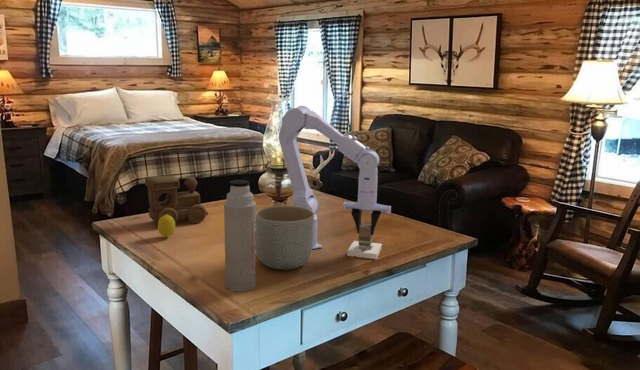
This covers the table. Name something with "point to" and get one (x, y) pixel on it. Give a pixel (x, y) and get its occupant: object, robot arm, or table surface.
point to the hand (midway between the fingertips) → (365, 233)
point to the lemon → (166, 225)
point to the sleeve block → (364, 250)
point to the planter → (284, 236)
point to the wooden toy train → (174, 199)
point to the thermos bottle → (240, 237)
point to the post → (365, 235)
